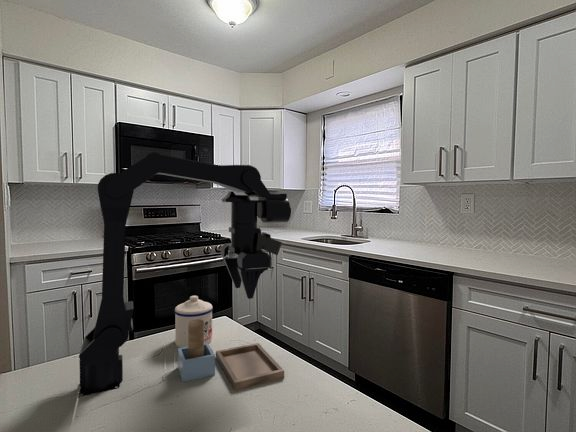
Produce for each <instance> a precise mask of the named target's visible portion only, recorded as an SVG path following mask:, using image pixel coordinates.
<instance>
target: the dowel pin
mask: <svg viewBox="0 0 576 432" xmlns="http://www.w3.org/2000/svg"><path fill="white" fill-rule="evenodd" d="M202 356H204V321H203V320H200V319H196V320H191V321H189V322H188V359H192V358H197V357H202Z"/></svg>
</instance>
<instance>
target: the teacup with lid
mask: <svg viewBox="0 0 576 432" xmlns="http://www.w3.org/2000/svg"><path fill="white" fill-rule="evenodd" d="M213 310H214V307H213V305H212V304H211V303H210V302H209V301H204V300H202V299H199V296H198V295H191V296H189V299H188V300H186V301H185V302H183V303H180V304H178V305H177V306H175V308H174V311H173V312H174V315H175V320H174V321H175V326H174V327H175V328H174V329H175V337H174V339H175V342H174V344H175V346H176V347H178V348H184V347H188V322H189V321H191V320H196V319H200V320H203V321H204V344H206V343H208V344H209V345H210V344H211V343H212V341H213Z"/></svg>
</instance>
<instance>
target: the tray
mask: <svg viewBox="0 0 576 432" xmlns="http://www.w3.org/2000/svg"><path fill="white" fill-rule="evenodd" d="M215 360H217V362H218V364H219V367H220V368H221V369H222V371H223V373H224V374H225V376H226V379H228V382H229V384H230V385H231V386H232V388H233V390H234V391H238V390H243V389H246V388H251V387H254V386H258V385H261V384H265V383H266V384H267V383H270V382H273V381H278V380H281V379H285V370H284V369H283V368H282V366H281V365H280V364H279V363H278V362H277V361H276V360H275V359H274V358H273V357H272V356H271V355H270V353H269V352H267V350H265V348H264V347H263V346H262V345H261V344H260V343H259V342H256V343H251V344H244V345H240V346H235V347H231V348H225V349H220V350H215Z"/></svg>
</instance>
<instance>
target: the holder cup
mask: <svg viewBox="0 0 576 432" xmlns="http://www.w3.org/2000/svg"><path fill="white" fill-rule="evenodd" d="M177 368H178V373H179V376H180V379H181V382H182V383H185V382H189V381H194V380H198V379H202V378H207V377H211V376H215V375H216V353H215V352H214V351H213V349H212V348H211V345H210V344H208V343H206V344H204V356H202V357H197V358H192V359H188V347H184V348H180V347H178V348H177Z"/></svg>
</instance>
